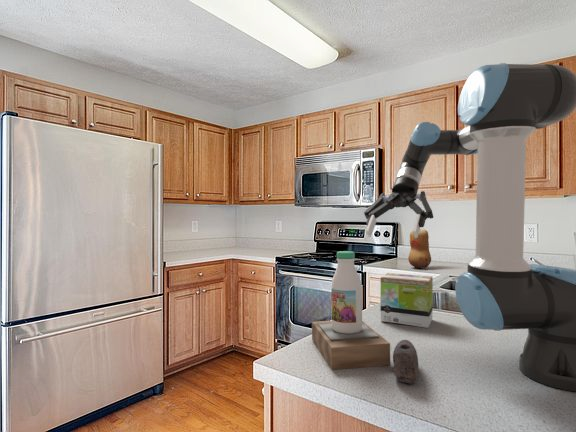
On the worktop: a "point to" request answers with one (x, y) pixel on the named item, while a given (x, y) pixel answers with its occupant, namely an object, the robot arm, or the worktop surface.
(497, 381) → the worktop surface
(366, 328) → the walnut stand
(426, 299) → the tea box
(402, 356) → the perforated stone tool
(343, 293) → the milk bottle
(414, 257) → the butternut squash
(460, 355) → the worktop surface
